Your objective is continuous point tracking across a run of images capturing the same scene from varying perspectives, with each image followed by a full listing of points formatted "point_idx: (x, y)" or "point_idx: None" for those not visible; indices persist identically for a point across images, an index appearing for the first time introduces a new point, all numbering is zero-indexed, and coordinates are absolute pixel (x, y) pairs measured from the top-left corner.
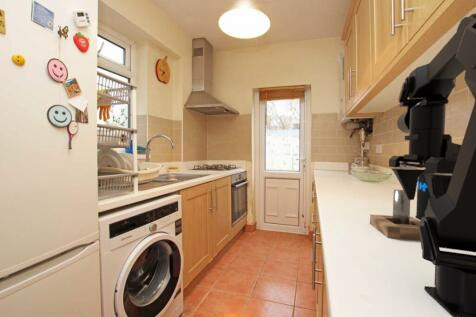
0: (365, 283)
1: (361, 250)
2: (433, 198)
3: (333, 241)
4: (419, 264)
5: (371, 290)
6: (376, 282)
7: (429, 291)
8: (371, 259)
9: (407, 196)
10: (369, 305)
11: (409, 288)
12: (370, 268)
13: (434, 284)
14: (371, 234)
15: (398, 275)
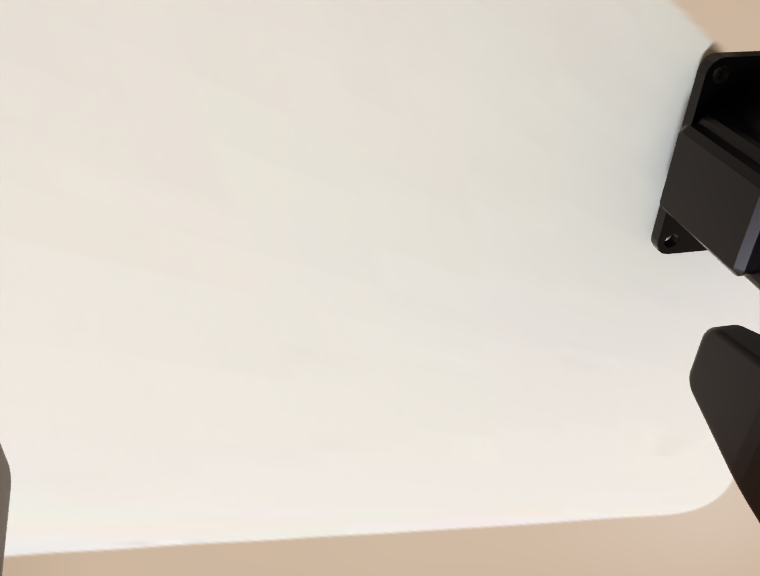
0: (591, 431)
1: (217, 399)
2: None
3: (109, 518)
4: (363, 126)
5: (637, 421)
6: (584, 396)
7: (698, 250)
8: (347, 373)
9: (2, 542)
10: (714, 439)
11: (632, 294)
12: (460, 395)
13: (666, 211)
14: None
15: (521, 299)
